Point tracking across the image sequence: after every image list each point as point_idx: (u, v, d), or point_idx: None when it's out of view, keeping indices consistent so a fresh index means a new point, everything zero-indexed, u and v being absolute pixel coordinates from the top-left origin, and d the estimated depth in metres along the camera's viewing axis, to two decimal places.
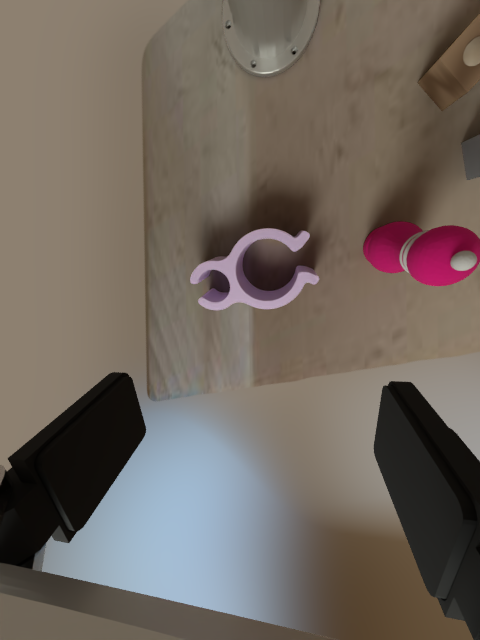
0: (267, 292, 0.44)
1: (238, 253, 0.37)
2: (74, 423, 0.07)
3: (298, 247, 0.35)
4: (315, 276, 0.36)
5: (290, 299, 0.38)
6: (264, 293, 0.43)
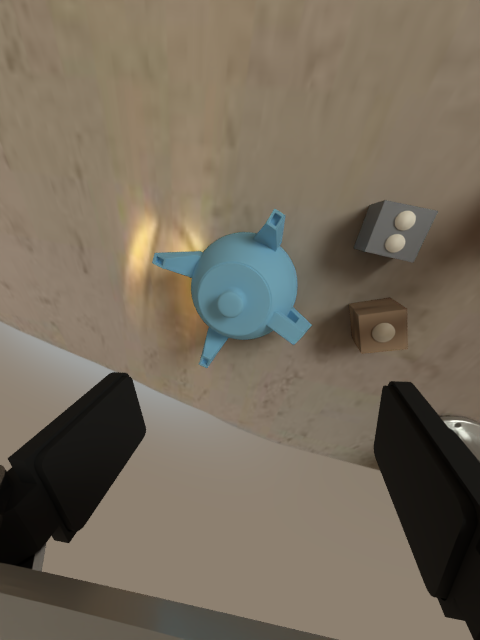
0: None
1: None
2: (74, 423, 0.07)
3: None
4: None
5: None
6: None
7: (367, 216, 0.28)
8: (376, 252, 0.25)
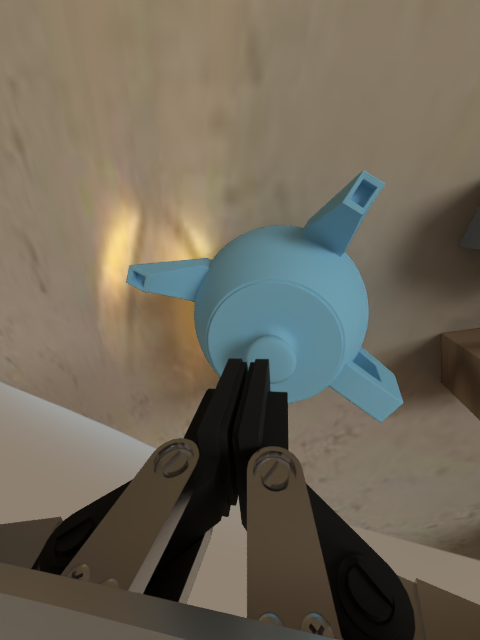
0: None
1: None
2: (230, 402, 0.07)
3: None
4: None
5: None
6: None
7: None
8: None
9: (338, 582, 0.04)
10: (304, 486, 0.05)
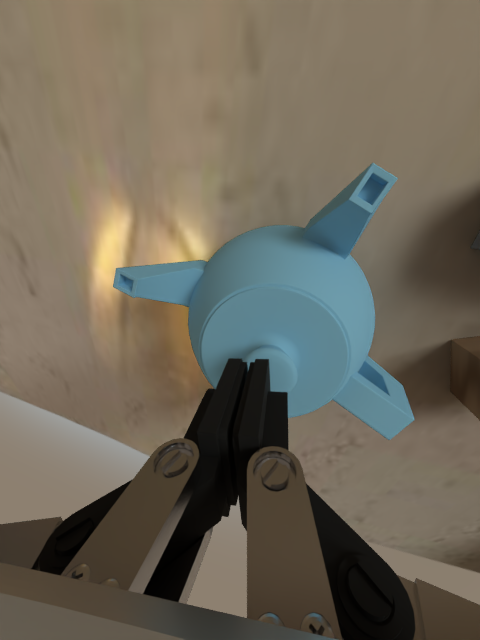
0: None
1: None
2: (230, 402, 0.07)
3: None
4: None
5: None
6: None
7: None
8: None
9: (338, 582, 0.04)
10: (304, 486, 0.05)
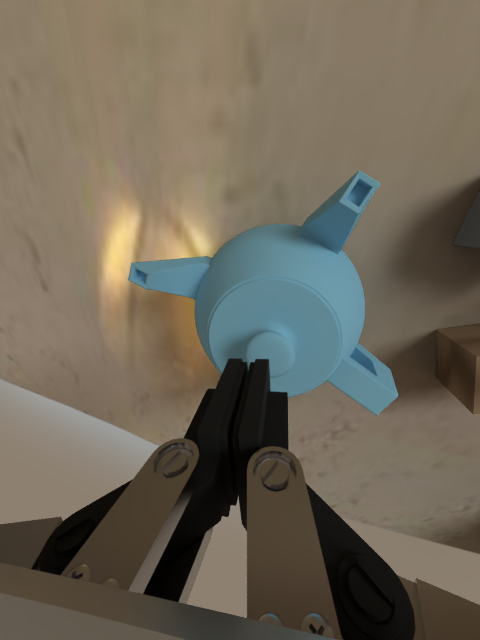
0: None
1: None
2: (230, 402, 0.07)
3: None
4: None
5: None
6: None
7: None
8: None
9: (338, 582, 0.04)
10: (304, 486, 0.05)
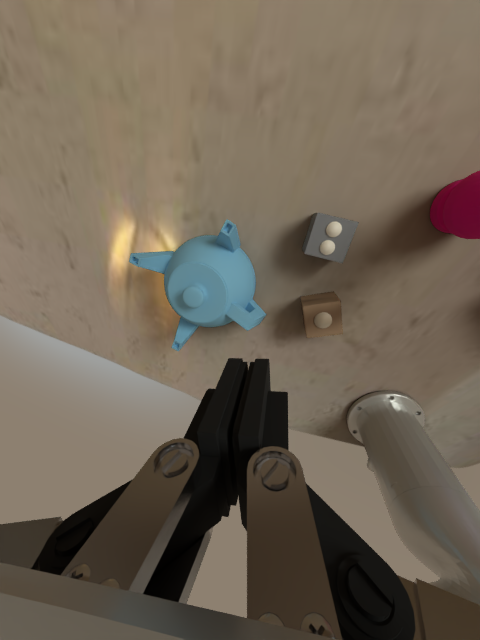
0: None
1: None
2: (230, 402, 0.07)
3: None
4: None
5: None
6: None
7: (310, 223, 0.33)
8: (313, 254, 0.31)
9: (338, 582, 0.04)
10: (304, 486, 0.05)
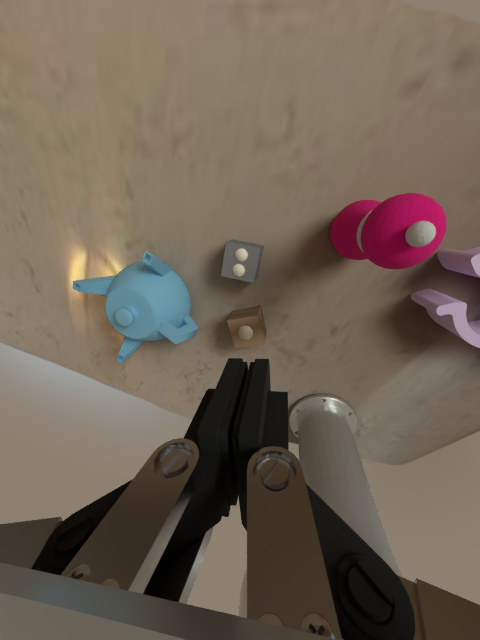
0: None
1: None
2: (230, 402, 0.07)
3: (458, 304, 0.30)
4: (473, 262, 0.28)
5: None
6: None
7: None
8: (228, 276, 0.35)
9: (338, 582, 0.04)
10: (304, 486, 0.05)
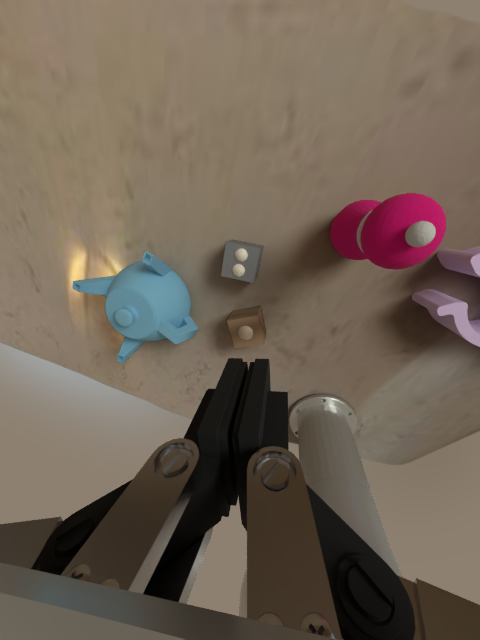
0: None
1: None
2: (230, 402, 0.07)
3: (458, 304, 0.30)
4: (472, 262, 0.28)
5: None
6: None
7: None
8: (228, 276, 0.35)
9: (338, 582, 0.04)
10: (304, 486, 0.05)
